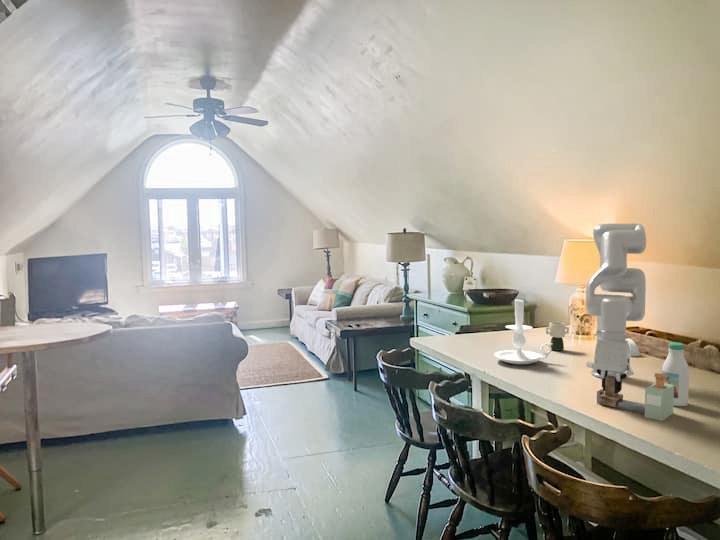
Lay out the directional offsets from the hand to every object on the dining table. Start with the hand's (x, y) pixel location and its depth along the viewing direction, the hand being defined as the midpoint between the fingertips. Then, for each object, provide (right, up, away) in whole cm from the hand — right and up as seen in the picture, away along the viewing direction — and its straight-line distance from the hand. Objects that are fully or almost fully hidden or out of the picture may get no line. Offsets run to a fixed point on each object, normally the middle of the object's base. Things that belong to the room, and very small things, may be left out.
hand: (611, 390), depth 180 cm
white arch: (+40, +1, +79) cm, 89 cm away
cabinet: (+10, -5, -10) cm, 15 cm away
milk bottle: (+21, -5, +1) cm, 22 cm away
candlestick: (-12, -1, +58) cm, 60 cm away
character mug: (+11, +1, +82) cm, 83 cm away
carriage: (0, -5, 0) cm, 5 cm away
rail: (+3, -5, -3) cm, 7 cm away
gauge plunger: (+10, +1, -10) cm, 15 cm away
